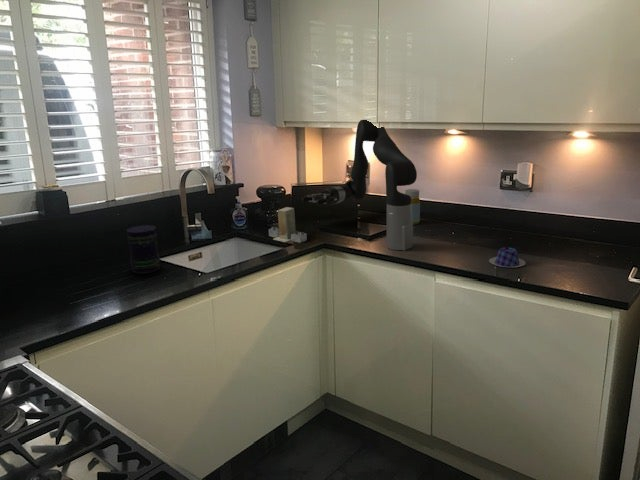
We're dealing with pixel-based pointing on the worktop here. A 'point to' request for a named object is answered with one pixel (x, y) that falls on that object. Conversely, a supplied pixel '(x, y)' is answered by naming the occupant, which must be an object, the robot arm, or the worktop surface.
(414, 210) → the bottle
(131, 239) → the storage jar
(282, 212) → the skincare box
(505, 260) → the blue plaid hat
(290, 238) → the seat pad
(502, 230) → the worktop surface
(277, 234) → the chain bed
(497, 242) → the worktop surface
